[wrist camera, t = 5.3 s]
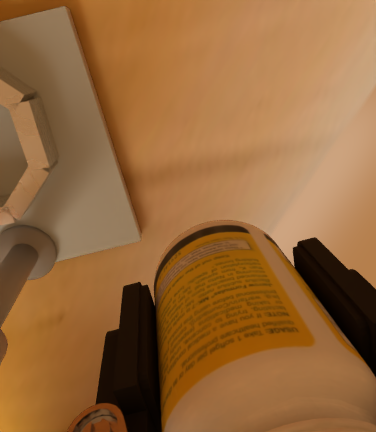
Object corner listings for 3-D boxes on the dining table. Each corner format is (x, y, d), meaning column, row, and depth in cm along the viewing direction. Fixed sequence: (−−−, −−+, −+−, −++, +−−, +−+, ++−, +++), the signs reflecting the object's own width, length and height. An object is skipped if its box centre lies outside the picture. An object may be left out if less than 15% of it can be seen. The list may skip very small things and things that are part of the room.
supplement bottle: (133, 305, 13) (115, 670, 5) (189, 195, 11) (285, 475, 3) (243, 339, 14) (362, 670, 6) (305, 244, 12) (564, 529, 5)
